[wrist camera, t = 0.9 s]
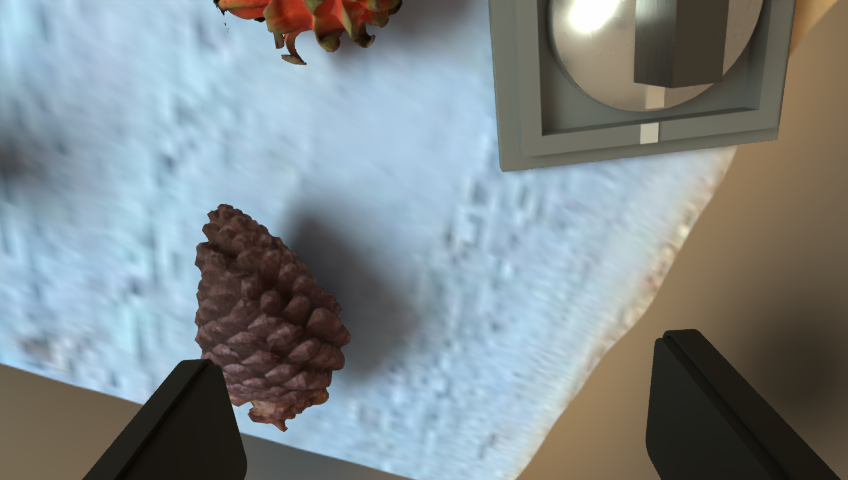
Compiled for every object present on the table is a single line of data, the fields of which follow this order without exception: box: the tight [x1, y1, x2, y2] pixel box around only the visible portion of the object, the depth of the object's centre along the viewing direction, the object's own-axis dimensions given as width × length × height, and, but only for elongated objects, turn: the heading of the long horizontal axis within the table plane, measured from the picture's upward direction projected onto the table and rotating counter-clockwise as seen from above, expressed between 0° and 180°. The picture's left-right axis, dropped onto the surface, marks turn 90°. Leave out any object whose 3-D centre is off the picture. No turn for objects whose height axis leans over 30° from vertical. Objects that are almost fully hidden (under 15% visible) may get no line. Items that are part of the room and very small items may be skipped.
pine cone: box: [195, 204, 351, 432], centre depth 34 cm, size 18×10×10 cm, turn 11°
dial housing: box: [488, 0, 796, 172], centre depth 29 cm, size 18×18×3 cm
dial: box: [546, 0, 763, 112], centre depth 26 cm, size 12×12×7 cm
